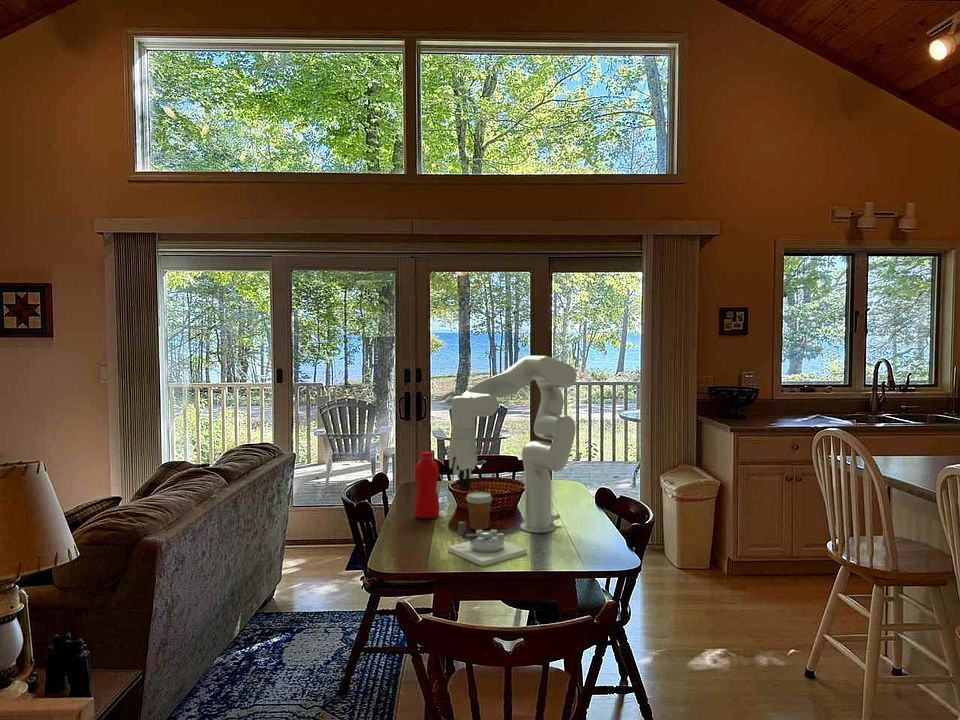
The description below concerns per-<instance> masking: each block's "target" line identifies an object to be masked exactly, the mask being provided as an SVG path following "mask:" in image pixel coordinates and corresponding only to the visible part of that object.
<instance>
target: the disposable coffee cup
mask: <svg viewBox="0 0 960 720" xmlns="http://www.w3.org/2000/svg"><path fill="white" fill-rule="evenodd" d="M465 499H466V501H467V510H468V515H469V516H468V517H469V524H470V529H472V530H475V531H476V530H483V531H485V530H486V529H488V528H489V522H490V513H491V505H492V500H493V497H492V495H491V493H489V492H485V491H474V492H469V493H468V494H467V495H466V497H465Z"/></svg>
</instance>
